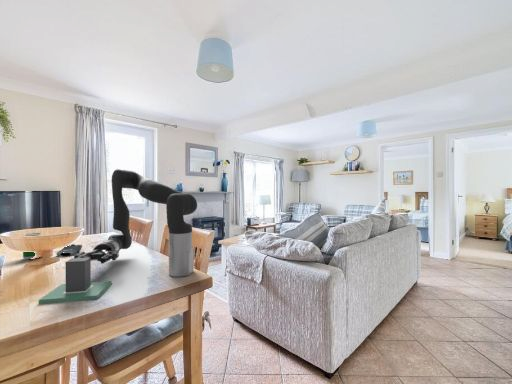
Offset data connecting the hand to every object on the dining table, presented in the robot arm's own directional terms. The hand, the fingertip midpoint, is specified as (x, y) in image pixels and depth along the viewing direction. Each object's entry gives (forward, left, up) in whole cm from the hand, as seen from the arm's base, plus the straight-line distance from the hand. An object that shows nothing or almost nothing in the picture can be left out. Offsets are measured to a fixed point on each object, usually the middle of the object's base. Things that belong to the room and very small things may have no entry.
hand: (89, 261), depth 88 cm
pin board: (-2, +7, -8) cm, 11 cm away
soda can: (+51, -29, -9) cm, 59 cm away
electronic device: (+41, -39, -9) cm, 57 cm away
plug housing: (-2, +7, -7) cm, 10 cm away
